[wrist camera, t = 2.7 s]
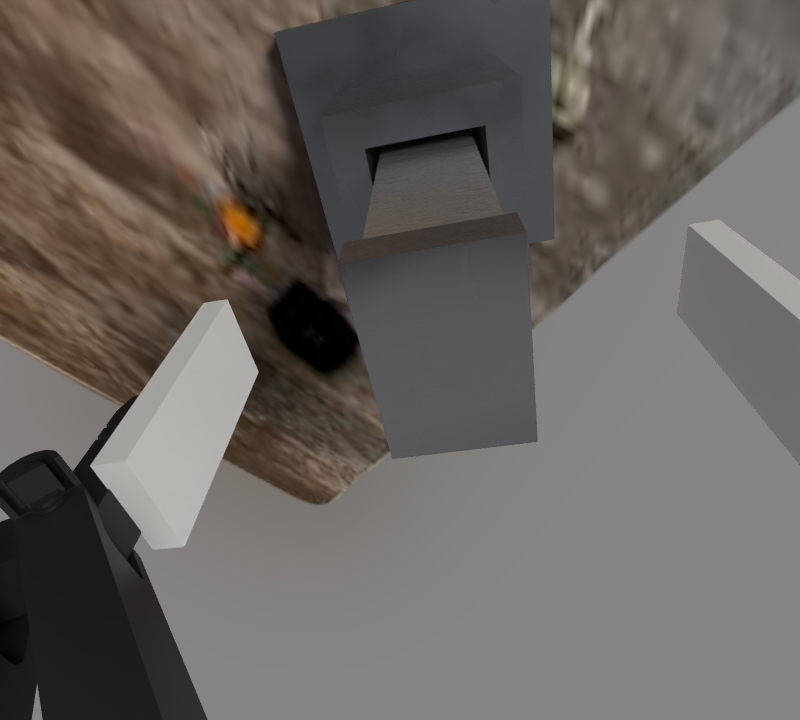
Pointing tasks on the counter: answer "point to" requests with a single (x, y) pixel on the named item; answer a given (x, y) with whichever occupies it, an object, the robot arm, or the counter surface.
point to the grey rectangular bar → (443, 302)
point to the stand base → (426, 99)
